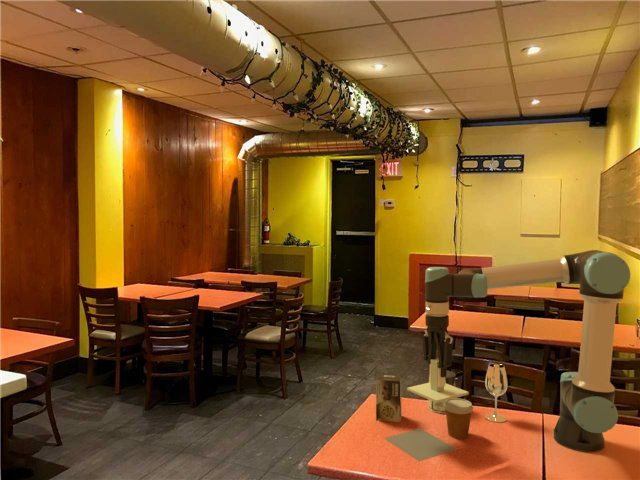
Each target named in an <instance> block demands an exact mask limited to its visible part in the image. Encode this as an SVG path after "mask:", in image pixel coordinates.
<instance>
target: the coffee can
mask: <svg viewBox="0 0 640 480" xmlns="http://www.w3.org/2000/svg"><path fill="white" fill-rule="evenodd" d="M456 375H457V374H456V373H455V372H454V371H451V370H447V369H446V377H445V383H446V384H449V385H451V386H454V387H456ZM429 382H430V373H429V372H428V383H429ZM445 402H446V401H442V402H439V403H435V402H433V401H431V400H429V399H428V407H427V408H428V410H430V411H431V412H433V413H437V414H445V415H446V409H445V407H444V404H445Z"/></svg>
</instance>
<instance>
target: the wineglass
mask: <svg viewBox="0 0 640 480" xmlns="http://www.w3.org/2000/svg"><path fill="white" fill-rule="evenodd" d="M484 385H485V389H486V391H487V392H488V393H489V394H490V395H492V396H493V397H494V412H493V413H488V414H485V416H484V418H485V419H486V420H487V421H490V422H493V423H504V422H506V421H507V418H506V416H504V415H502V414H499V413H498V411H497V409H498V408H497V407H498V398H499V397H500V396H502V395H504V394H505V393H506V391H507V390H508V377H507V372H506V368H505V365H503V364H500V363H490V364H488V368H487V370H486V374H485V381H484Z"/></svg>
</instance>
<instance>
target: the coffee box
mask: <svg viewBox="0 0 640 480" xmlns="http://www.w3.org/2000/svg"><path fill="white" fill-rule="evenodd" d="M375 421H381V422H382V421H384V422H395V423H401V421H402V375H392V374H380V373H379V374H377V376H376V379H375Z"/></svg>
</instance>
